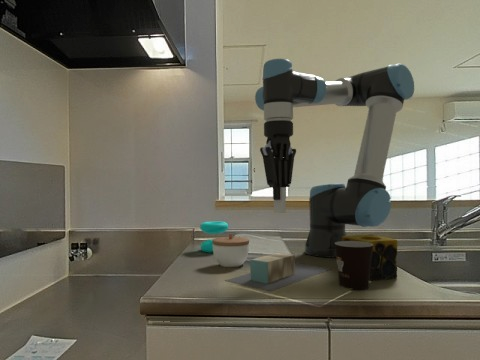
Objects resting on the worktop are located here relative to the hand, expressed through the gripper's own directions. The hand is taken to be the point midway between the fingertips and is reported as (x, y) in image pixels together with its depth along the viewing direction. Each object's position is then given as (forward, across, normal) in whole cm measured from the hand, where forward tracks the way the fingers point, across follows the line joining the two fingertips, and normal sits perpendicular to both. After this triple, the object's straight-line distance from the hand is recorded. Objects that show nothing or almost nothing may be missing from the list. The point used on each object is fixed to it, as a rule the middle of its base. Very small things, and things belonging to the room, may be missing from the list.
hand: (279, 212), depth 101 cm
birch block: (+14, -3, 0) cm, 14 cm away
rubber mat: (+17, 0, 0) cm, 17 cm away
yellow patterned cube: (+17, -15, +17) cm, 29 cm away
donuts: (+17, -14, -39) cm, 45 cm away
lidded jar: (+17, 0, -18) cm, 25 cm away
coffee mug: (+17, -4, +18) cm, 25 cm away
